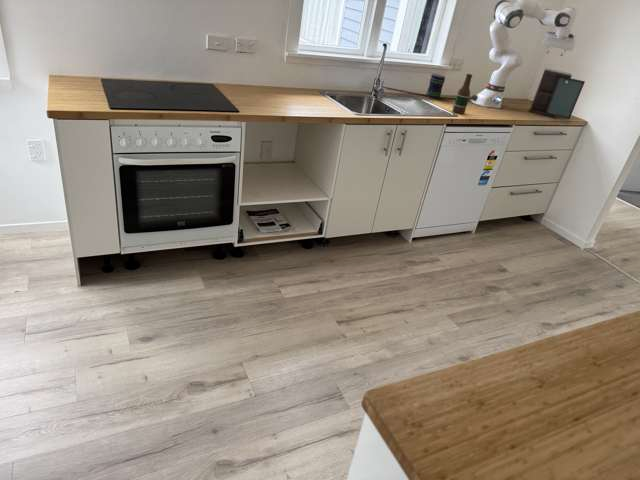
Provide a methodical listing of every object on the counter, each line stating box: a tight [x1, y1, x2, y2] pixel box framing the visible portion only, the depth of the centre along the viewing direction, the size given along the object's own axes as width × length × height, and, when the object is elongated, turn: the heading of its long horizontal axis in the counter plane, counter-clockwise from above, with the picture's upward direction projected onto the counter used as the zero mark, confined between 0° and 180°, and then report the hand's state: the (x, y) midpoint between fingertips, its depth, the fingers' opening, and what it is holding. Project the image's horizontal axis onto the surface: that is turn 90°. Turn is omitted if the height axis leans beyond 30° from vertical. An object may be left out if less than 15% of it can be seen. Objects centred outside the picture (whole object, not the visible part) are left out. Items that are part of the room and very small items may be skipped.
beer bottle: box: [452, 73, 473, 115], centre depth 305 cm, size 8×8×24 cm
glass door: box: [545, 76, 586, 120], centre depth 338 cm, size 9×17×26 cm, turn 65°
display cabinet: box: [528, 67, 573, 119], centre depth 349 cm, size 14×18×30 cm
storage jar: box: [426, 73, 446, 100], centre depth 339 cm, size 10×10×15 cm
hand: (554, 54), depth 337 cm, fingers open, 8 cm apart
